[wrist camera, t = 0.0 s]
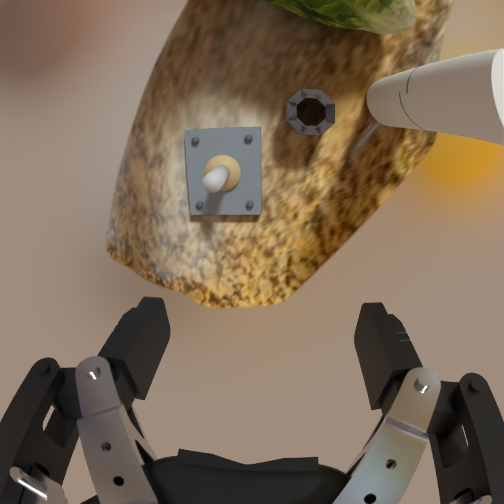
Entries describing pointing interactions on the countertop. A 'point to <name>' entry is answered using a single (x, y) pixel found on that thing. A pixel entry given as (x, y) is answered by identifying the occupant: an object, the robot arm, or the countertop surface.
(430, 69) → the cylindrical container
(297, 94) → the collar
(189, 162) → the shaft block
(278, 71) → the countertop surface
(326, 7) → the lettuce
